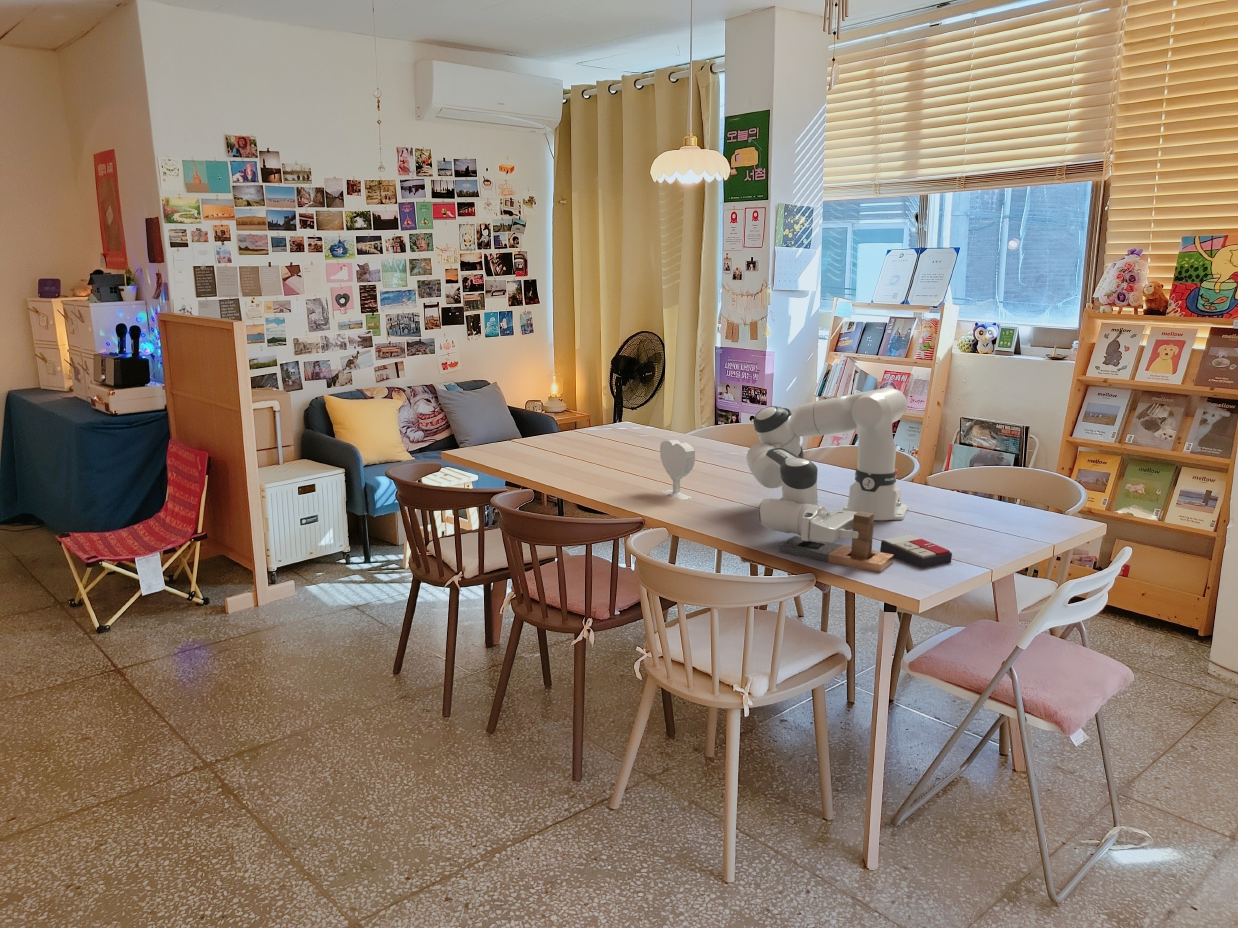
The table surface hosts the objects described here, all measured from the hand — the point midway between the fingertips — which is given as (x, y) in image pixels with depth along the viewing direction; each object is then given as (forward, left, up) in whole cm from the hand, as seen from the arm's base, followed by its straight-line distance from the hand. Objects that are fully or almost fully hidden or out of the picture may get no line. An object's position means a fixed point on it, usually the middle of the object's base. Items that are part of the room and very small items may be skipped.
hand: (865, 530), depth 235 cm
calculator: (-13, +10, -9) cm, 18 cm away
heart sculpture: (-31, -76, -9) cm, 82 cm away
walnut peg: (0, -1, -9) cm, 9 cm away
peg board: (0, -8, -9) cm, 12 cm away
